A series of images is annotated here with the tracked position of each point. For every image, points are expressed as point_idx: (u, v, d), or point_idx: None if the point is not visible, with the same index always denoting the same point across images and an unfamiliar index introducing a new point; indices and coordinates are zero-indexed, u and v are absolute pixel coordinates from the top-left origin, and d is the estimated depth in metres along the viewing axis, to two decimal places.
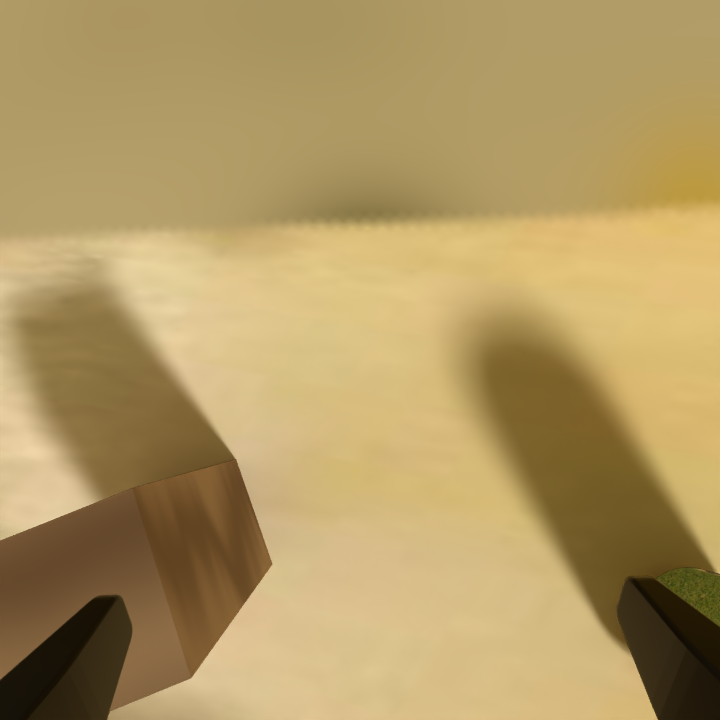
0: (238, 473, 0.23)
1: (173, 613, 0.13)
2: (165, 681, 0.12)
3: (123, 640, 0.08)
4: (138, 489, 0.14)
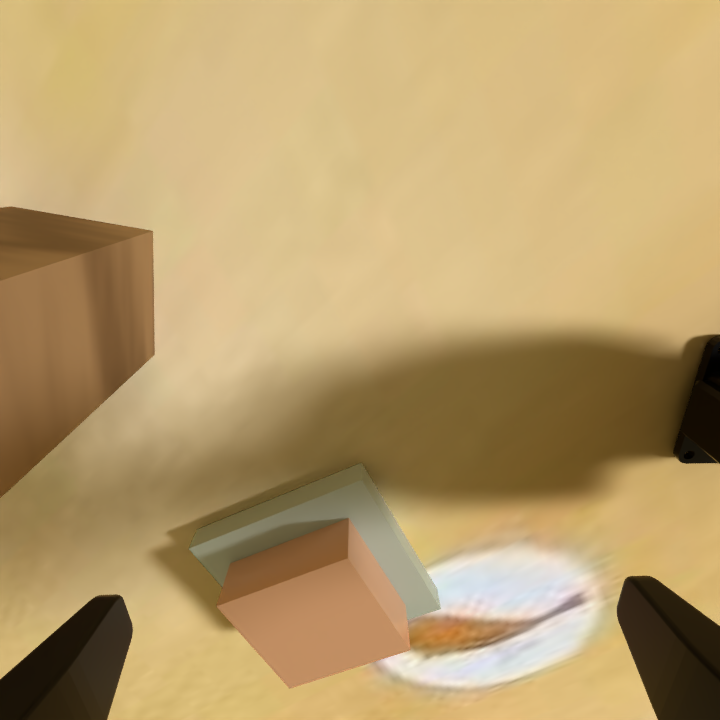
0: (23, 211, 0.17)
1: None
2: None
3: (123, 640, 0.08)
4: None
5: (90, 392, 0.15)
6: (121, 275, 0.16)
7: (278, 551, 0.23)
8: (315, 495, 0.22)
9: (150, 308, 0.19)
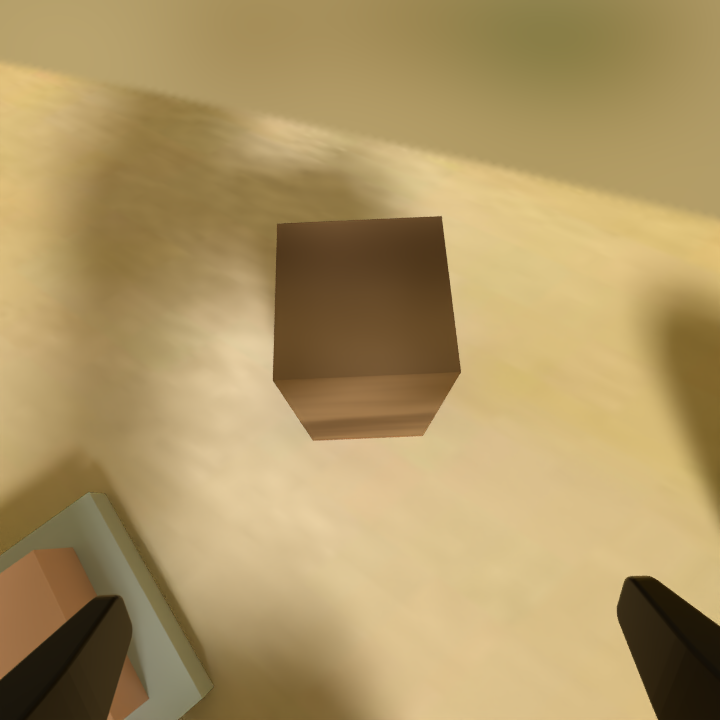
0: None
1: (453, 319, 0.14)
2: (435, 368, 0.13)
3: (123, 640, 0.08)
4: None
5: (318, 416, 0.18)
6: (402, 425, 0.20)
7: None
8: (172, 639, 0.19)
9: (358, 437, 0.22)
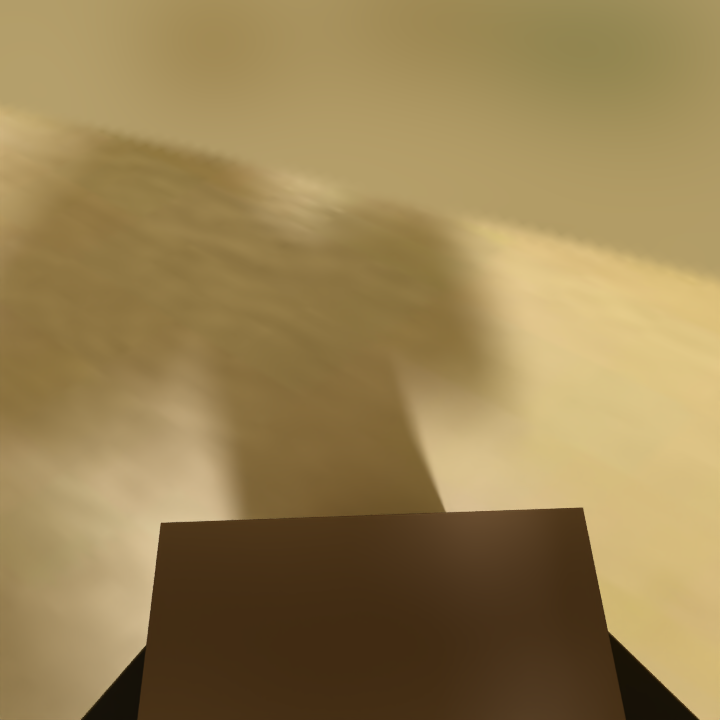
0: None
1: None
2: None
3: None
4: None
5: None
6: None
7: None
8: None
9: None
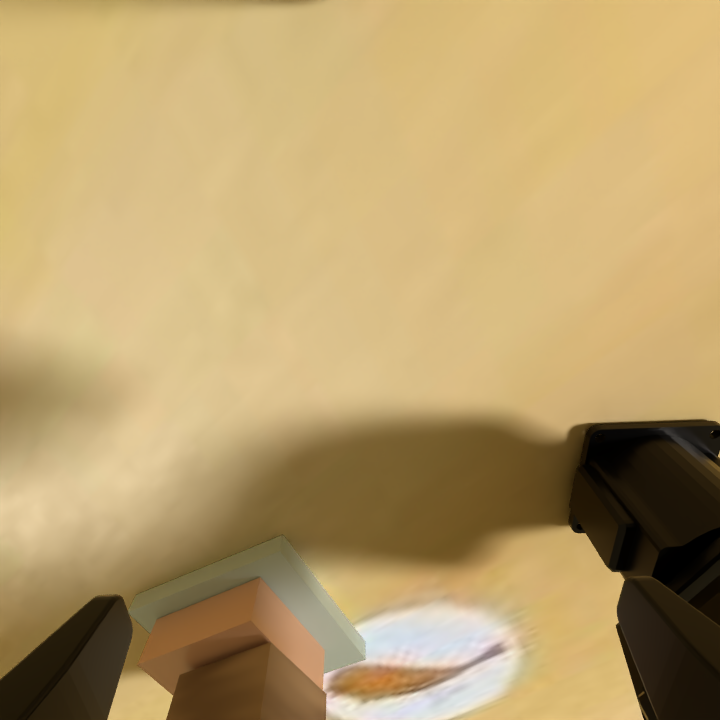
0: (188, 679, 0.22)
1: None
2: None
3: (123, 640, 0.08)
4: None
5: None
6: (277, 717, 0.20)
7: (197, 609, 0.25)
8: (240, 564, 0.24)
9: (304, 680, 0.23)
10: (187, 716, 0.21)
